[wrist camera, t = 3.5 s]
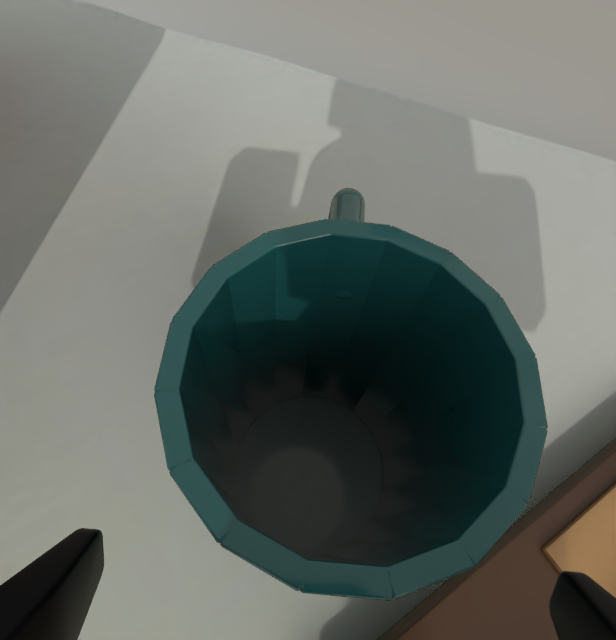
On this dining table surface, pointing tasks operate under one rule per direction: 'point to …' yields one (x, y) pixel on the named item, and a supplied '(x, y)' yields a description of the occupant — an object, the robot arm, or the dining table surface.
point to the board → (528, 565)
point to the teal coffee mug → (350, 407)
